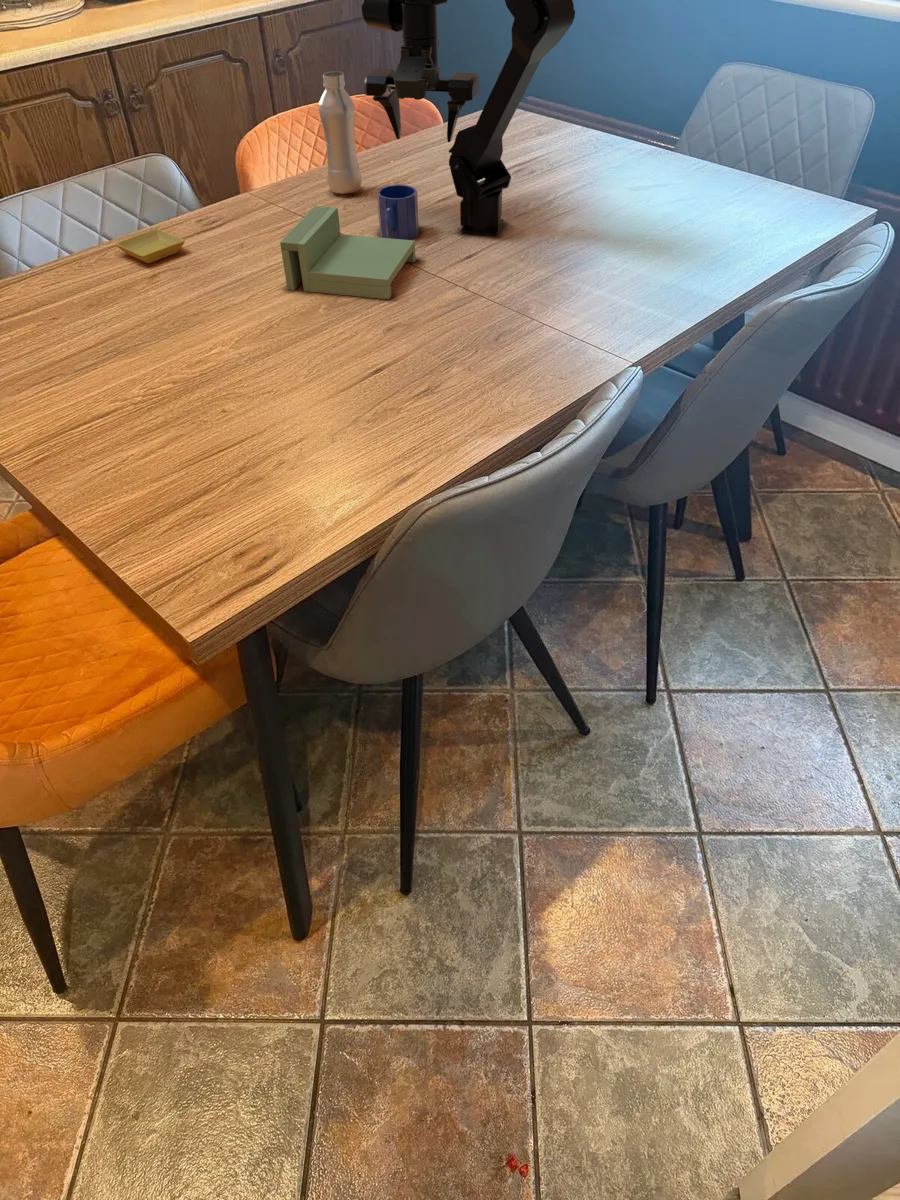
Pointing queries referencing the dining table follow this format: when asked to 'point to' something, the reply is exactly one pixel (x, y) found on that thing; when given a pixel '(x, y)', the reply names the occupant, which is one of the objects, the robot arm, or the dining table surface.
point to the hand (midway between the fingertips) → (423, 140)
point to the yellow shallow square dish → (151, 245)
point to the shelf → (341, 258)
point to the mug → (398, 212)
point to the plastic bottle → (339, 135)
